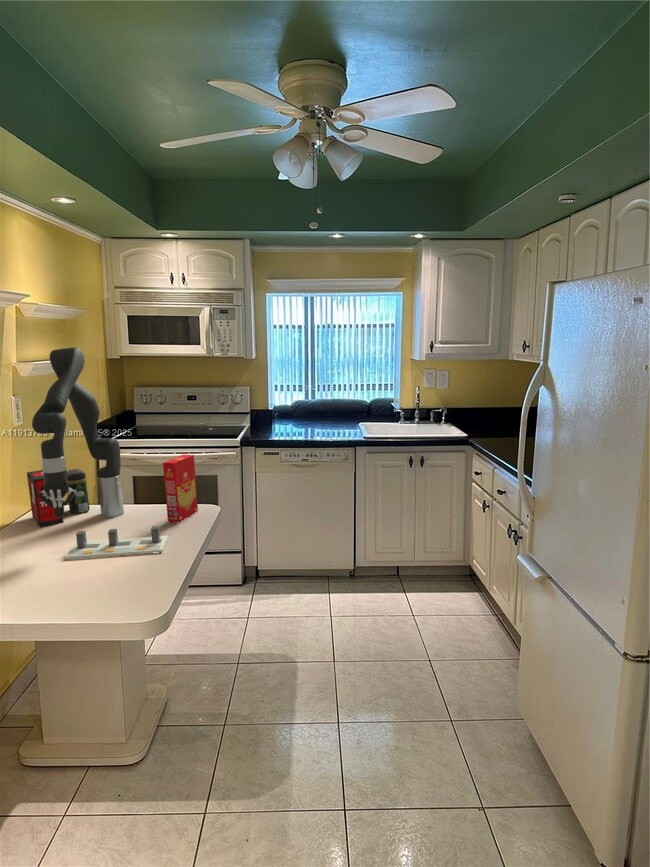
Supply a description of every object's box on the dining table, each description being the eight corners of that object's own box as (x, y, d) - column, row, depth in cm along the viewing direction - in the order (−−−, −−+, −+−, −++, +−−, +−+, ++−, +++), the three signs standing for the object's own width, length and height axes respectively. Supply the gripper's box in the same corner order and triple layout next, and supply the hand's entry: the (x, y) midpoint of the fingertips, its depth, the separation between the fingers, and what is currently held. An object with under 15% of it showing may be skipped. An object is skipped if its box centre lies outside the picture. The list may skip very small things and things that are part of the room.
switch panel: (77, 545, 210) (76, 540, 210) (168, 538, 214) (168, 534, 214) (65, 560, 197) (64, 555, 196) (162, 552, 200) (162, 548, 200)
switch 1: (80, 544, 206) (78, 531, 205) (86, 544, 207) (85, 530, 206) (77, 547, 203) (76, 534, 202) (84, 547, 204) (83, 533, 203)
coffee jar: (67, 510, 253) (62, 469, 249) (86, 506, 257) (82, 466, 254) (72, 515, 245) (67, 473, 241) (91, 511, 249) (87, 470, 246)
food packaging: (179, 523, 231) (174, 463, 226) (167, 522, 233) (162, 462, 228) (198, 511, 245) (193, 455, 240) (187, 510, 246) (183, 454, 242)
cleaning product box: (63, 522, 236) (57, 476, 232) (40, 527, 231) (33, 480, 227) (55, 513, 249) (49, 468, 245) (32, 517, 244) (26, 472, 240)
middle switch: (111, 542, 208) (110, 529, 207) (118, 541, 208) (116, 528, 207) (109, 545, 205) (107, 532, 204) (116, 544, 205) (114, 531, 204)
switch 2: (153, 539, 209) (152, 526, 208) (160, 538, 210) (159, 525, 209) (152, 542, 206) (151, 529, 205) (158, 541, 207) (157, 528, 206)
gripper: (77, 466, 203) (82, 512, 206) (38, 468, 202) (44, 514, 205) (71, 471, 196) (76, 519, 199) (30, 473, 195) (36, 521, 198)
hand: (60, 516), depth 202 cm, fingers closed
